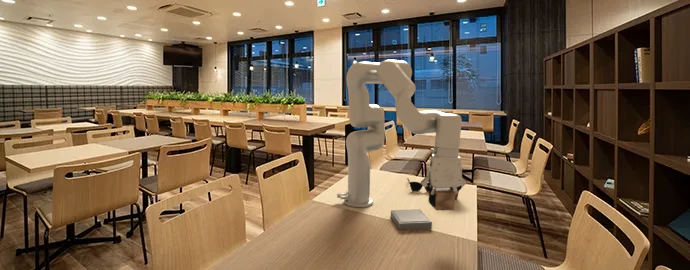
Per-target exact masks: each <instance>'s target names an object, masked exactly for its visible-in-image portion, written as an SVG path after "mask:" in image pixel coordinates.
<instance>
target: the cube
mask: <svg viewBox="0 0 690 270" xmlns="http://www.w3.org/2000/svg"><path fill="white" fill-rule="evenodd" d="M435 195H436V198H435V206H432V208H433V209H434V210H435V211H454V210H455V203H456V200H455V195H456V192H454V191H453V190H452V189H450V188H449V187H448V188H437V189H436V191H435Z"/></svg>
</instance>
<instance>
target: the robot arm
mask: <svg viewBox="0 0 690 270" xmlns="http://www.w3.org/2000/svg"><path fill="white" fill-rule="evenodd" d="M412 70H413V69H412V67H411V65H410V64H409V63H408V62H407V61H405V60H399V59H398V60H397V59H385V60H382V61H380V62H376V61H375V62H374V61H373V62H371V61H359V62H355V63H353V64H352V65H351V66H350V67H348V70H347V73H346V86H347V90H348V117H349V119H348V120H349V123H350V125H351V126H352V127H354V128H367V129H362V130H356V131H352V132H350V133H349V134H348V135H347V137H346V139H345V145H346V150H347V152H346V153H347V190H346V191H345V192H344V193H341V192H340V193H339V192H338V193H336V198H337V199H340V200H343V203H344V204H345V205H346V206H349V207H352V208H366V207H370V206H372V205H373V203H374V199H373V198H372V197H370V194H371V193H370V191H371V189H370V188H371V160H370V158H369V156H368V153H369V152H371V153H372V152H376V151H379V150H381V149H382V148H383V147H384V144H385V132H386V130H385V112H384V110H383V109H382V107H381V106H379V105H378V104H375V103H370V93H369V90H368V88H367V87H366V84H372V85H373V84H379V85H381V84H383V85H384V87H385V88H386V89H387V91H388V92H389V93H390V94H391V96H392V97H393V98H394V101H395V103H394V105H395V111H396V115H397V118H398V119H399V120H400V121H401V123H402V124H403V125H404V127H405V128H406V129H407V130H408V131H409V132H410V133H411V134H414V135H424V134H425V135H426V134H432V133H435V139H434V146H433V148H430V150H429V152H430V153H433V154H431V157H430V161H429V164H428V165H429V166H428V172H427V175H426V176H425V177H424V178H423V179H422V180H421V181H420V183H421V184H422V185H423V186H422V187H423V188H424V187H425V188H426V189H427V191H428V192H427V191H426V192H427V193H428V204H429V205H431V206H432V207H433V206H435V198H436V195H435V191H436V189H437V188H448V187H450V189H452V190H453V191H454V192H456V194H458V195H459V193H458V191H459V192H460V190H462V189H463V187H465V185H467V181H466V180H465V179H464V178H463V167H462V166H463V165H462V159H461V158H462V157H461V156H459V152H460V151H459V150H460V141H461V131H462V123H463V121H462V117H461V115H460V114H456V113H448V112H447V113H446V112H442V111H439V110H435V109H434V110H421V111H419V110H418V109H417V107H416V106H415V105H414V104H413V102H412V101H411V97H413V95H414V94H415V93H416V88H417V87H416V84H415V83H414V82H413V81H412V80H411V79H412V75H413V71H412ZM427 183H431V184H430V186H428V185H427ZM425 188H424V189H425ZM426 189H425V190H426ZM455 201H456V195H455Z"/></svg>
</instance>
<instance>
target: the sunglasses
mask: <svg viewBox="0 0 690 270" xmlns="http://www.w3.org/2000/svg"><path fill="white" fill-rule="evenodd" d="M406 179H407V181H408V184H409V187H410V190H411V191H412V192H420V191H421V190H422V188H424V190H425V191H426V192H427V193H429V192H428V191H427V189H426V188H425V187H424V186H423V185H422V184H421V182H419V181H410V179H409V177H407V178H406ZM430 184H431V183H429V182H427V185H428V186H430Z"/></svg>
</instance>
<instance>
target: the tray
mask: <svg viewBox="0 0 690 270" xmlns="http://www.w3.org/2000/svg"><path fill="white" fill-rule="evenodd" d="M390 218H391V219H392V221H393V222H394V224H395V226H396V227H397V229H398V230H399V231H409V230H410V231H412V230H428V229H429V230H431V229H432V227H433V221H432V220H431V219H430V218H429V217H428V216H427V215H426V214H425V213H424V212H423V210H421V209H420V208H419V209H395V210H390Z"/></svg>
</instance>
